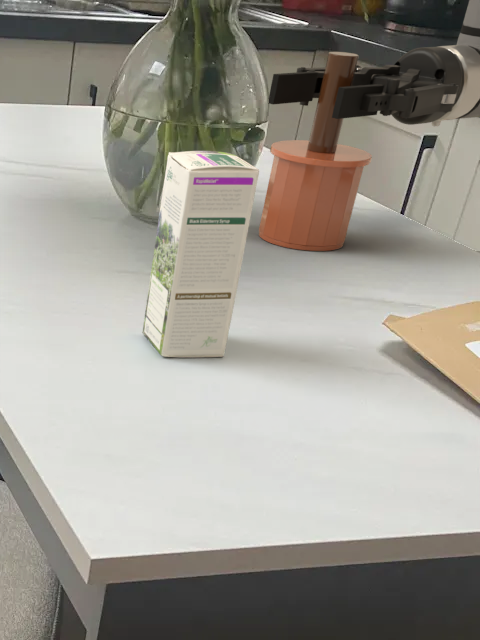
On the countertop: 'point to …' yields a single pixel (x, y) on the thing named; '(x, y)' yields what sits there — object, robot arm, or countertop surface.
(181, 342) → the syrup box
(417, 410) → the countertop surface
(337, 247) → the jar
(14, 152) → the countertop surface
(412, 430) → the countertop surface
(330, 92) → the lid
